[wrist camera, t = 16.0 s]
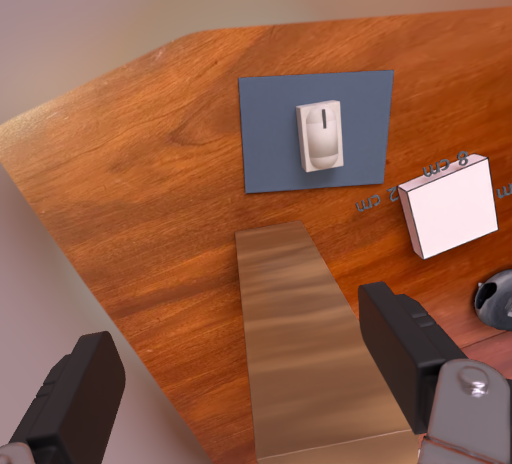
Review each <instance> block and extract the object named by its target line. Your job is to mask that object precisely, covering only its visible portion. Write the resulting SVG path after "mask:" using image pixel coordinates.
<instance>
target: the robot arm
mask: <svg viewBox="0 0 512 464" xmlns="http://www.w3.org/2000/svg"><path fill="white" fill-rule="evenodd" d="M358 299H359V321H360V330H361V334H362V338H363V340H364V343H365V345H366V347H367V349H368V350H369V352H370V354H371V356H372V358H373V360H374V361H375V363H376V365H377V367H378V369H379V371H380V372H381V374H382V376H383V378H384V380H385V382H386V383H387V385H388V387H389V389H390V391H391V393H392V394H393V396H394V398H395V400H396V402H397V404H398V405H399V407H400V409H401V411H402V413H403V415H404V416H405V418H406V420H407V422H408V424H409V425H410V427H411V429H412V431H413V433H414V435H418V434H423V433H427V435H426V436H424V437H423V440H422V444H421V449H420V453H419V458H418V463H417V464H512V380H511V379H506V378H504V376H503V375H502V374H501V373H500V372H498V371H497V370H496V369H494V368H493V367H491V366H489V365H487V364H485V363H483V362H480V361H476V360H472V359H469V358H468V357H467V356H466V355H465V354H464V353H463V352H462V351H461V349H460V348H459V347H458V346H457V345H456V344H455V343H454V342H453V340H452V339H451V338H450V337H449V336H448V335H447V334H446V333H445V331H444V330H443V329H442V328H441V327H440V326H439V325H437V324H436V321H435V320H434V319H433V318H432V317H431V316H430V315H428V312H427V311H426V310H425V309H424V308H423V307H422V306H421V304H420V303H419V302H417V301H416V300H414V299H412V298H410V297H408V296H407V295H405V294H399V295H394V293H393V292H392V291H391V290H390V288H389V287H388V286H387V285H386V283H385V282H383V281H381V282H376V283H370V284H365V285H360V286H359V288H358ZM125 380H126V379H125V371H124V367H123V364H122V361H121V359H120V356H119V354H118V351H117V349H116V346H115V344H114V341H113V339H112V336H111V334H110V333H109V332H108V331H103V332H98V333H92V334H87V335H83V336H81V337H80V338H79V340H78V342H77V344H76V345H75V347H74V349H73V351H72V353H71V354H69V355H65V356H64V357H63V358H62V359H61V360H60V361H59V362H58V363H57V364H56V365H55V366H54V367H53V368H52V369H51V370H50V372H49V374H48V376H47V377H46V379H45V381H44V383H43V386H41V388H40V390H39V391H38V393H37V395H36V398H35V399H34V400H33V401H32V403H31V405H30V407H29V408H28V410H27V412H26V413H25V415H24V417H23V419H22V420H21V422H20V424H19V426H18V427H17V429H16V431H15V432H14V434H13V436H12V438H11V439H10V441H9V443H8V444H6V445H3V446H1V447H0V464H101V463H102V460H103V457H104V453H105V450H106V447H107V444H108V440H109V437H110V434H111V430H112V427H113V424H114V421H115V418H116V414H117V411H118V408H119V405H120V401H121V398H122V395H123V391H124V388H125Z"/></svg>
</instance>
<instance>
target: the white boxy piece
mask: <svg viewBox="0 0 512 464" xmlns="http://www.w3.org/2000/svg"><path fill="white" fill-rule="evenodd" d="M296 116H297V125H298V135H299V145H300V154H301V164H302V168H303V169H304V170H305V171H306V172H311V171H317V170H322V169H328V168H334V167H340V166H343V148H342V130H341V112H340V101H335V100H330V101H324V102H318V103H313V104H307V105H301V106H296Z"/></svg>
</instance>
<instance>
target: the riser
mask: <svg viewBox="0 0 512 464" xmlns="http://www.w3.org/2000/svg"><path fill="white" fill-rule="evenodd" d="M235 240H236V250H237V260H238V271H239V281H240V292H241V302H242V313H243V323H244V333H245V344H246V354H247V365H248V375H249V386H250V396H251V406H252V417H253V427H254V438H255V448H256V458H257V463H258V464H417V463H418V452H419V434H418V435H414V433H413V431H412V429H411V427H410V425H409V424H408V422H407V420H406V418H405V416H404V415H403V413H402V411H401V409H400V407H399V405H398V404H397V402H396V400H395V398H394V396H393V394H392V393H391V391H390V389H389V387H388V385H387V383H386V382H385V380H384V378H383V376H382V374H381V372H380V371H379V369H378V367H377V365H376V363H375V361H374V360H373V358H372V356H371V354H370V352H369V350H368V349H367V347H366V345H365V343H364V340H363V338H362V334H361V330H360V323H359V321H358V320H357V318H356V316H355V314H354V313H353V311H352V309H351V307H350V306H349V304H348V302H347V300H346V299H345V297H344V295H343V293H342V291H341V290H340V288H339V286H338V284H337V283H336V281H335V279H334V277H333V276H332V274H331V272H330V270H329V269H328V267H327V265H326V263H325V262H324V260H323V258H322V256H321V255H320V253H319V251H318V249H317V248H316V246H315V244H314V242H313V241H312V239H311V237H310V235H309V234H308V232H307V230H306V228H305V227H304V225H303V223H302V221H301V220H298V221H293V222H287V223H282V224H276V225H270V226H265V227H259V228H253V229H248V230H242V231H236V232H235Z"/></svg>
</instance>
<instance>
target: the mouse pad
mask: <svg viewBox="0 0 512 464" xmlns="http://www.w3.org/2000/svg"><path fill="white" fill-rule="evenodd" d="M393 75H394V70H384V71H365V72H345V73H326V74H306V75H287V76H268V77H248V78H238V80H239V96H240V112H241V128H242V145H243V161H244V177H245V193H258V192H272V191H285V190H299V189H313V188H327V187H340V186H354V185H368V184H382V183H383V181H384V170H385V160H386V149H387V139H388V128H389V117H390V107H391V96H392V86H393ZM330 100H335V101H340V112H341V130H342V148H343V166H340V167H334V168H328V169H322V170H317V171H311V172H306V171H305V170H304V169H303V168H302V164H301V154H300V145H299V135H298V125H297V116H296V106H301V105H307V104H313V103H318V102H324V101H330Z"/></svg>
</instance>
